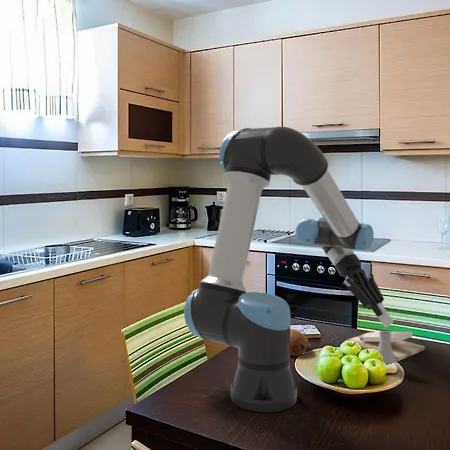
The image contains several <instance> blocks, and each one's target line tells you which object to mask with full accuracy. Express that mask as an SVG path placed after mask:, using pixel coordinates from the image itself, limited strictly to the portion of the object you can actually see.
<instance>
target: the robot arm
mask: <svg viewBox="0 0 450 450" xmlns="http://www.w3.org/2000/svg"><path fill="white" fill-rule="evenodd" d="M218 155H219V156H218V157H219V160H220V162H219V164H220V166H221V169H222V170H223V171H224V175H223V176H224V178H225V179H226V181H227V189H226V192H225V198H224V202H223V207H222V211H221V215H220V221H219V225H218V230H217V235H216V239H215V244H214V247H213V251H212V252H213V253H212V256H211V257H212V258H211V261H210V267H209V270H208V275H207V276H206V277H204V278H202V279H201V280H200V282H199V287H198V288H197V289H194V290H193V291H192V292H190V295H188V296H187V298H186V300H185V303H184V309H183V311H184V312H183V316H184V317H183V318H184V322H185V325H186V327H187V328H188V331H189V332H190V333H191V334H192V335H194V336H195V337H198V338H201V339H203V340H204V341H207V342H214V343H218V344H221V345H225V346H230V347H233V348H235V349H237V350H238V351H237V353H238V354H237V358H238V362H237V367H236V370H235V374H234V378H233V381H232V383H231V385H230V400H231V402H232V403H233V404H234V405H235V406H237V407H239V408H242V409H243V410H247V411H251V412H256V413H277V412H281V411H285V410H288V409H291V408H292V407H293V406H294V405H296V403H297V401H298V398H297V397H298V390H297V385H296V384H295V382H294V377H293V372H292V370H291V367H290V365H291V364H290V362H291V360H290V359H291V358H290V357H291V356H290V329H291V325H292V320H291V309H290V305H289V304H288V302H287V301H286V300H285V299H283V298H282V297H279V296H277V295H276V294H275V295H274V294H272V293H267V292H259V291H250V292H249V291H248V290H247V288H246V287H245V285H244V283H243V282H244V281H243V280H244V277H245V272H246V268H247V262H248V258H249V254H250V249H251V248H250V247H251V244H252V238H253V233H254V228H255V225H256V219H257V213H258V210H259V206H260V205H259V204H260V200H261V196H262V191H263V190H264V189H266V188H267V187H269V185H270V182H271V177H272V175H273V176H274V175H275V176H277V175H282V176H286V177H289V178H291V179H292V181H293V182H294V183H295V185H298V186H301V187H302V188H303V189H304V191H305V193H306V194H307V195H308V197H309V198H310V200H311V201H312V202H313V205H314V206H315V207H316V209H317V210H318V211H319V213H320V215H321V216H320V217H318V218H317V219H313V218H303V219H301V220H300V221H299V222H298V223H297V224H296V227H295V231H294V233H295V237H296V239H297V240H298V241H299V242H301V243H304V244H305V245H312V246H316V247H321V249H322V250H323V252H324V253H325V255H326V256H327V257H328V259H329V260H330V262H331V263H332V265H333V266H335V269H336V271H337V272H338V274H339V276H341V277H343V278H344V279H345V280H344V281H343V282H342V285H343V286H344V287H346V288H347V289H348V290H349V291H350V292H351V293H352V294H353V296H354V297H355V298H356V299H357V300H358V301H359V303H361V305H362V306H363V307H364V308H367V310H369V311H370V310H372V311H373V313H374V315H376V317H377V318H378V320H379V321H380V322H381V324H382V325H383V327H384V328H387V327H389V326H390V325H391V324H393V323H394V322H395V321H394V320H393V318H392V317H391V315H390V314H389V313H388V311H387V309H386V308H385V307H384V305H383V302H384V300H385V298H384V296H383V293H382V292H381V291H380V289H379V287H378V284H377V282H376V280H375V278H374V275H373V273H370V274H368V273H366V270H364V269H363V268H362V261H361V260H360V259H359V257H358V256H357V254H355V252H354V250H355V251H357V250H363V251H367V250H369V249H371V247H372V244H373V242H374V235H375V234H374V229H373V227H372V225H370V224H369V223H364V222H362V223H360V222H359V220H358V219H357V217H356V216H355V214H354V212H353V210H352V209H351V207H350V205H349V203H348V202H347V199H345V197H344V195H343V194H342V191H341V190H340V188H339V187H338V185H337V183H336V182H335V180H334V178H333V176H332V174H331V173H330V172H329V163H328V160H327V158H326V157H325V155H324V153H323V151H322V150H321V149H320V148H319V147H318V146H317V144H315V143H314V142H313V141H312V140H311V139H310V138H309V137H307V136H306V135H304V134H303V133H302V132H300V131H298V130H296V129H294V128H291V127H287V126H273V127H257V128H255V127H254V128H252V127H245V128H242V129H235V130H233V131H231V132H229V133H228V134H227V135H226V136H225V137H224V139H223V140H222V143H221V145H220V149H219V153H218Z"/></svg>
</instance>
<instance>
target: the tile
mask: <svg viewBox="0 0 450 450" xmlns="http://www.w3.org/2000/svg"><path fill="white" fill-rule="evenodd" d="M373 332H374V333H371V334H368V335H365V336H362V337H361V338H360V340H362V341H363V342H380V335H379V332H380V331H373ZM390 332H391V333H392V335H391V340H390V341H391V342H400V341H402V340H403V341H406V340H407V339H410V338H412V337H413V332H412V331H390Z"/></svg>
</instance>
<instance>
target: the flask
mask: <svg viewBox="0 0 450 450" xmlns="http://www.w3.org/2000/svg"><path fill="white" fill-rule="evenodd" d="M378 332H379V335H380V343H379V347H378V350H377V351H378V352H379V353H380V354H381V355H382V356H383V361H384V363H385V365H389V364H392V363H395V362H396V363H397V361H396V360H395V357H394V354H393V351H392V347H391V341H390V340H391V335H392V333H391V332H392V331H387V330H380V331H378Z"/></svg>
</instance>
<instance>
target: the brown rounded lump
mask: <svg viewBox="0 0 450 450" xmlns="http://www.w3.org/2000/svg"><path fill="white" fill-rule="evenodd" d="M310 347H311V344H310V343H309V340H308V338H307V337H306V336H305V335H304V334H303V333H302V332H301V331H299V330H298V329H296V328H295V329H294V328H290V357H298V356H299V355H301V354H303V353H305V352H307V353H309V352H310ZM308 351H309V352H308ZM301 356H302V355H301ZM299 357H300V356H299Z"/></svg>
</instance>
